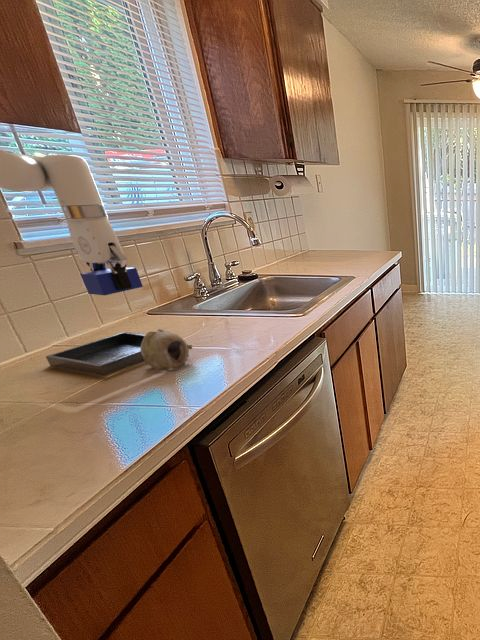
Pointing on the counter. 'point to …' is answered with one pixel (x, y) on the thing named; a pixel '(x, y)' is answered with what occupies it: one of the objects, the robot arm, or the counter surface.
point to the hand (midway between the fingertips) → (115, 287)
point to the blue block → (108, 281)
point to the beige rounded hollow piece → (164, 350)
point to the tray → (101, 355)
